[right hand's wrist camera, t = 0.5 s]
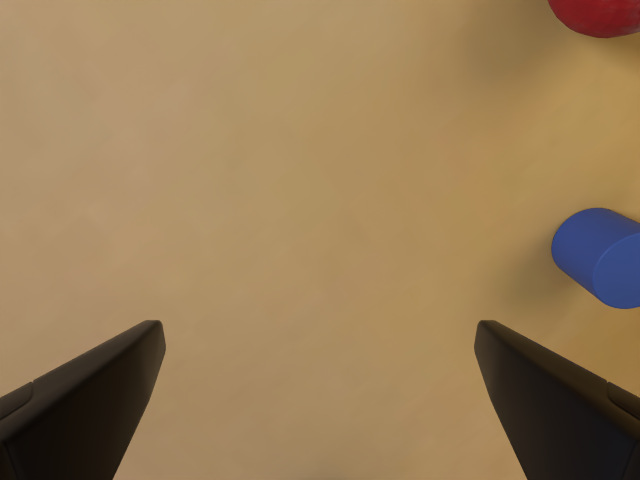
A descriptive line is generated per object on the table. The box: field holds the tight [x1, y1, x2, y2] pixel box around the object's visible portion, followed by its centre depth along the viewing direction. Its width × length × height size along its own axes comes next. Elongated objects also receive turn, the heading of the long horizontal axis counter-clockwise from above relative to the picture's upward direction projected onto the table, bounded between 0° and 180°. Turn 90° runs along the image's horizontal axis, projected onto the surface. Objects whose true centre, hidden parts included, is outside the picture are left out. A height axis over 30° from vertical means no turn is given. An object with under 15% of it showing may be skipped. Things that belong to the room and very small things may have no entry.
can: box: [552, 208, 640, 309], centre depth 23 cm, size 4×4×4 cm
